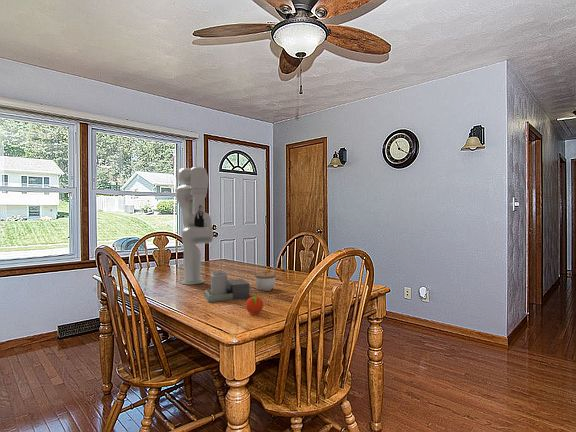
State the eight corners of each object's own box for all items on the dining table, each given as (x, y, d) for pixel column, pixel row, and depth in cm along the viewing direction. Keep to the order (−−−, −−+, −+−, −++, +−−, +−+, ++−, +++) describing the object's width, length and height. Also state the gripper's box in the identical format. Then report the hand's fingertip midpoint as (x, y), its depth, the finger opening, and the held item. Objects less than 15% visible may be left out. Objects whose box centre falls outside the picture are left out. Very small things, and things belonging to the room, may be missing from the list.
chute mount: (204, 296, 173) (204, 282, 173) (242, 292, 181) (242, 278, 180) (208, 302, 162) (208, 287, 162) (249, 298, 169) (249, 283, 169)
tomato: (264, 316, 141) (264, 298, 141) (247, 317, 140) (246, 299, 140) (261, 310, 149) (261, 293, 149) (245, 311, 148) (244, 294, 147)
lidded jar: (277, 287, 193) (277, 269, 193) (274, 291, 182) (274, 273, 182) (257, 286, 194) (257, 269, 194) (253, 291, 183) (253, 273, 183)
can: (223, 299, 166) (223, 273, 166) (208, 298, 167) (208, 272, 167) (229, 295, 173) (229, 270, 173) (214, 294, 175) (214, 270, 174)
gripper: (188, 192, 186) (189, 226, 186) (193, 191, 170) (193, 227, 170) (203, 193, 189) (203, 225, 189) (209, 191, 173) (209, 227, 173)
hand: (199, 226), depth 180 cm, fingers open, 9 cm apart
